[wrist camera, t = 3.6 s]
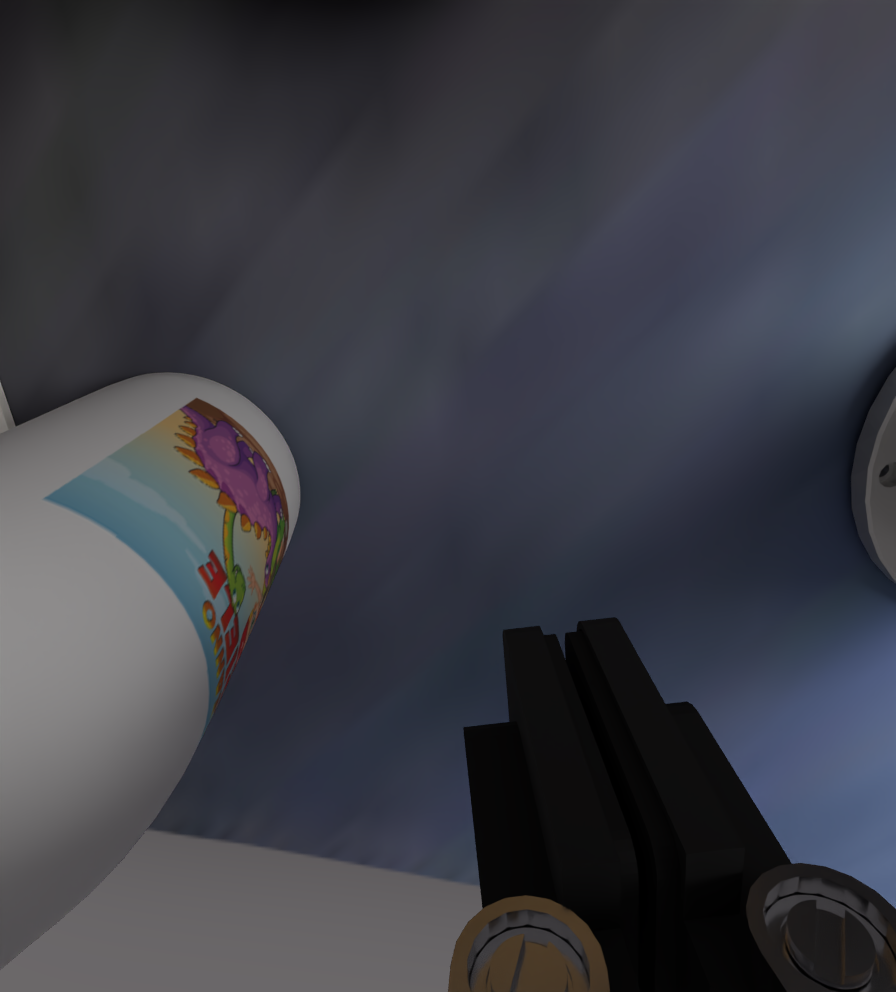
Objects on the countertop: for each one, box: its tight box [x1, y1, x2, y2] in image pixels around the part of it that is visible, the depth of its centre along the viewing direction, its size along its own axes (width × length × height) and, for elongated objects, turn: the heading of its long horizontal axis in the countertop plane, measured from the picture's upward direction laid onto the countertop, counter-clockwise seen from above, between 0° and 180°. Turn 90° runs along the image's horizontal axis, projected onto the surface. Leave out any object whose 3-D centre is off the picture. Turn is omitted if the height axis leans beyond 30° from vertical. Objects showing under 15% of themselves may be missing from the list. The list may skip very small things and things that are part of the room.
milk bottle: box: [0, 372, 300, 970], centre depth 13 cm, size 8×8×20 cm
